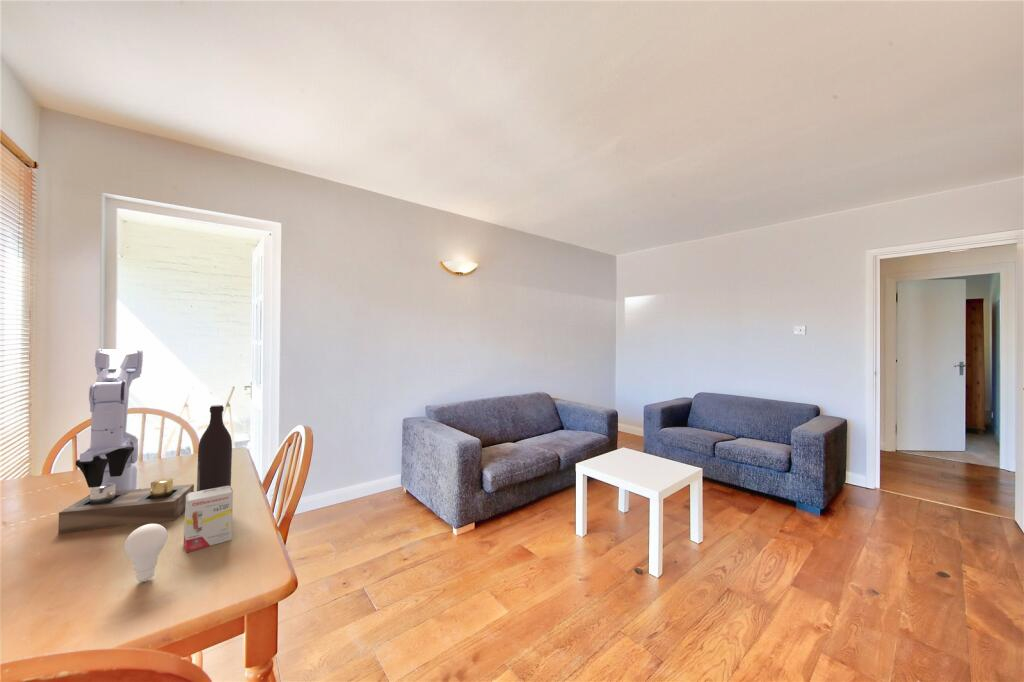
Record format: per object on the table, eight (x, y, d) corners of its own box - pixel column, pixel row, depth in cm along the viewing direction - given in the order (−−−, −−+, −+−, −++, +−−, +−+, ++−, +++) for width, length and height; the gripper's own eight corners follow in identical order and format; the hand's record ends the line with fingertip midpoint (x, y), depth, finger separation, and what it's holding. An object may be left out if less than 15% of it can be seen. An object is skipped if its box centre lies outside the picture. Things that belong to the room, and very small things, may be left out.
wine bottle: (218, 510, 104) (221, 402, 104) (236, 515, 102) (239, 404, 102) (189, 522, 97) (192, 406, 97) (207, 527, 95) (211, 409, 95)
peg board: (91, 511, 101) (92, 492, 101) (193, 501, 109) (193, 484, 109) (58, 533, 90) (58, 512, 90) (173, 520, 98) (174, 501, 98)
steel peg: (96, 502, 99) (97, 484, 99) (118, 500, 100) (119, 482, 100) (85, 510, 95) (85, 490, 95) (108, 507, 96) (109, 488, 96)
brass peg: (155, 497, 103) (155, 479, 103) (175, 495, 105) (176, 477, 105) (146, 503, 99) (147, 485, 99) (167, 501, 101) (168, 483, 101)
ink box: (184, 553, 84) (186, 500, 84) (183, 544, 87) (185, 493, 87) (232, 540, 90) (233, 490, 90) (229, 532, 93) (230, 484, 93)
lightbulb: (142, 571, 77) (144, 518, 77) (174, 571, 78) (176, 517, 77) (113, 591, 71) (115, 533, 71) (148, 591, 71) (150, 533, 71)
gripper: (107, 434, 91) (105, 490, 91) (144, 421, 105) (143, 470, 105) (69, 435, 89) (67, 493, 89) (112, 422, 103) (110, 472, 103)
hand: (105, 481), depth 97 cm, fingers open, 7 cm apart
